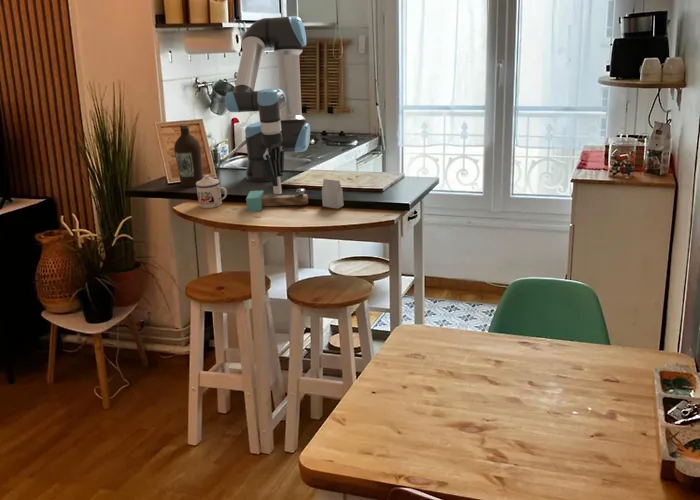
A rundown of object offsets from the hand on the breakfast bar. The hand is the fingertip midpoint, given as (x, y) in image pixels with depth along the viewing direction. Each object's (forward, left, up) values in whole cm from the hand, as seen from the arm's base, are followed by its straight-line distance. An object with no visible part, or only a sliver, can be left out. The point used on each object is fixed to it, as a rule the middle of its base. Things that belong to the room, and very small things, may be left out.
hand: (277, 193), depth 285 cm
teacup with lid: (+2, -25, -3) cm, 25 cm away
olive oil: (-29, -40, -3) cm, 50 cm away
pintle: (+6, +9, +1) cm, 11 cm away
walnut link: (+6, +1, -3) cm, 6 cm away
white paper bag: (+10, +21, -3) cm, 24 cm away
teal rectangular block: (+8, -8, -3) cm, 11 cm away
